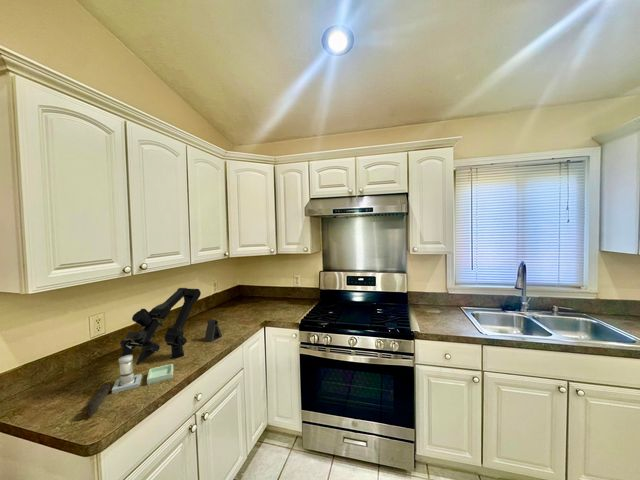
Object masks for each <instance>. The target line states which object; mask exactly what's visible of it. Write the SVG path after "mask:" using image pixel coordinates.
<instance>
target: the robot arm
mask: <svg viewBox="0 0 640 480" xmlns="http://www.w3.org/2000/svg"><path fill="white" fill-rule="evenodd" d="M201 293H202V292H201V290H200V289H199V288H188V287H179V288H177V290H176V291H175V292H174V293H173V294H172V295H170V297H169V298H167V299H166V300H165V301H164V302H162V303H159V304H157V305H155V307H153V308H151V310H149V311H148V309H146V308H140V310H138V311H137V312H136V313H134V314H133V315H132V318H131V320H132V321H133V322H134V323H135V324H137V325H139V326H140V327H142V329H140V330H137V332H135V331H127V333H126V335H125V336H126V337H125V338H124V339H121V340H120V343H119V346H120V347H121V348H122V351H121V352H122V353H121V356H120V357H123V356H126V355H132V353H133V352H134V349H136V348H141V349H142V350H141V353H140V355H139V356H138V359H137V360H136V362H135V365H136V366H139V365H140V364H141V363H142V362H144V361H145V360H147V358H149V357H150V356H152V355H153V354H156V353H158V352H159V350H160V348H161V347H160V344H158V343H157V342H155V341H154V340H153V341H151V340H152V339H153V338H155V333H156V331H157V330H158V328H159V327H161V328H162V327H164V325H163V321H162V320H165V319H166V318H168V316H169V315H170V314H171V310H172V309H173V307H174V306H176V304H177V303H178V302H179V301H181V300H182V299H183V300H184V301H183V304H182V305H181V309H180V310H179V313H178V315H177V318H176V319H175V322H174V323H173V325H172V327H168V328H166V332H165V333H164V338H163V339H164V341H165V343H166V345H167V346H170V351H171V352H170V359H171V360H172V359H176V358H181V357H184V356H185V351H184V346H185V344H187V340H188V339H187V338H186V337H184V334H185V332H184V327H185V324H186V322H187V319H188V316H189V314H190V312H191V310H192V308H193V305H194V304H195V303H196V302H197V301H198V300H199V298H200V296H201Z"/></svg>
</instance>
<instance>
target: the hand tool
mask: <svg viewBox="0 0 640 480" xmlns="http://www.w3.org/2000/svg"><path fill="white" fill-rule="evenodd" d="M112 388H113V385H112V384H111V383H103V384H101V385H100V387H99V390H98V391H96V392H95V396H94V397H93V398H92V399H90V400H89V402H88V403H87V416H88V419H89V418H91V417H92V416H93V415H95V413H96V412H97V411H98V410H99V407H100V405H101V404H102V403H103V401H104V399H105V398H106V396H107V395H108V394H109V392H112Z"/></svg>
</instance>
